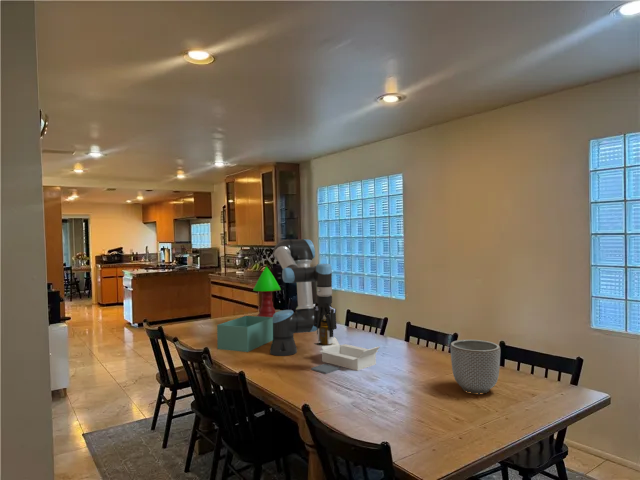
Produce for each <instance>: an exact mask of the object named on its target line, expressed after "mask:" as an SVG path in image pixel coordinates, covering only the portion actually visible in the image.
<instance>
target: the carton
mask: <svg viewBox="0 0 640 480" xmlns="http://www.w3.org/2000/svg"><path fill="white" fill-rule="evenodd" d="M333 343H334V344H335V345H329V346H323V347H321V346H320V348H321V349H322V350H318V352H319V353H321V362H323V363H325V364H329V365H333V366H337V367H342V368H347V369H349V370H354V371H357V372H359V371H361V370H364V369H366V368H370V367H372V366H375V365H377V359H376V358H377V353H378V352H379V351H378V350H379V349H380V348H381V346H379V345H378V346H376V347H372V348H365V347H362V346H356V345H351V344H346V343H344V344H340V343H339V341H338V339H337V338H336V337H335V336H333Z"/></svg>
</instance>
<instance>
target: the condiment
mask: <svg viewBox="0 0 640 480" xmlns="http://www.w3.org/2000/svg"><path fill="white" fill-rule="evenodd" d="M327 330H329V329H328V324H327V320H326V318H323V319H322V320H321V325H320V342H314V343H313V344H314V345H316V346H318V347H320V348H321V347H323V346H329V345H335V344H334V343H331V344H328V334H327Z"/></svg>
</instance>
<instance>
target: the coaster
mask: <svg viewBox="0 0 640 480" xmlns="http://www.w3.org/2000/svg"><path fill="white" fill-rule="evenodd" d="M310 369H311V371H314V372H318V373H322V374H324V375H326V374H330V373H334V372H335V371H339V370H341V366H337V365H333V364H329V363H323V364H319V365H317V366H316V365H315V366H313V367H310Z"/></svg>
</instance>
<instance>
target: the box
mask: <svg viewBox="0 0 640 480" xmlns="http://www.w3.org/2000/svg"><path fill="white" fill-rule="evenodd" d="M272 321H273V317H260V316H257V315H256V316H255V315H244V316H239V317H237V318H235V319H231V320H228V321H226V322H222V323H219V324H217V325H216V327H217V328H216V331H217V332H216V335H217V340H216V341H217V350H223V351H232V352H233V351H235V352H241V353H242V352H243V353H249V352H251V351H253V350H255V349H257V348H260V347H262V346H264V345H266V344H268V343H270V342H272V341H273V323H272Z"/></svg>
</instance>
